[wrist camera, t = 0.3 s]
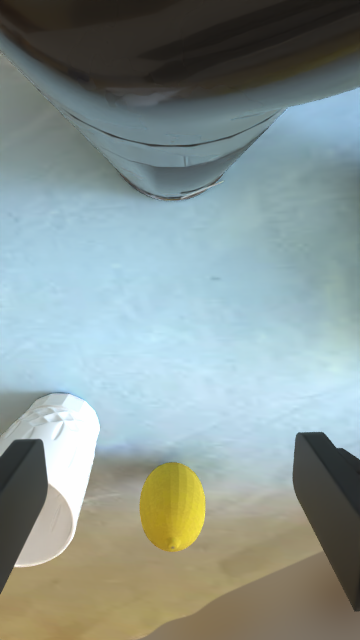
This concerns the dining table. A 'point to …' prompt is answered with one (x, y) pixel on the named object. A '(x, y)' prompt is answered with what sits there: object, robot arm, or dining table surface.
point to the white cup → (57, 469)
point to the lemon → (172, 507)
